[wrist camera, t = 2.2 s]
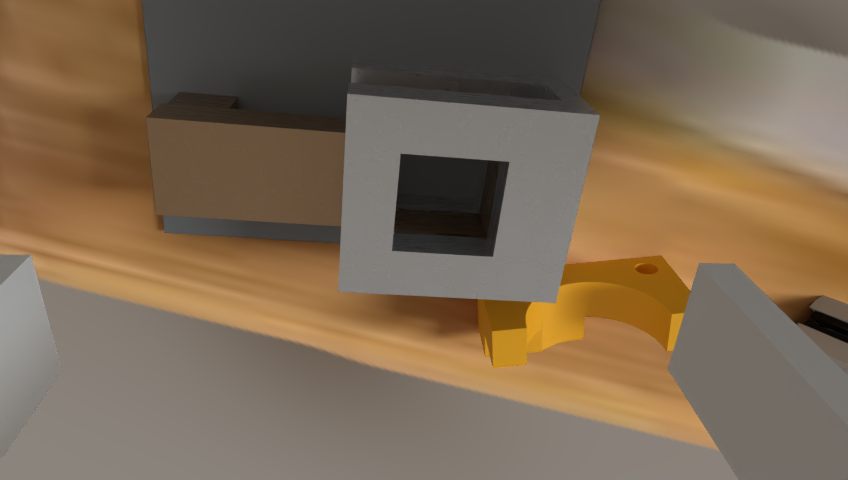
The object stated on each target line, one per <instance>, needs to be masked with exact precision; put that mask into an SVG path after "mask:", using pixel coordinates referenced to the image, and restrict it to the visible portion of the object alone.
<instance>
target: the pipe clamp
mask: <svg viewBox="0 0 848 480" xmlns="http://www.w3.org/2000/svg"><path fill="white" fill-rule="evenodd" d="M690 292H691V291H690V290H689V289H688V288H687V286H686V285H685V284H684V283H683V282H682V280H681V279H680V278H679V277H678V275H677V274H676V273H675V272H674V270H673V269H672V268H671V267H670V266H669V264H668V263H667V262H666V261H665V259H664V258H663V257H662V256H652V257H641V258H630V259H620V260H609V261H598V262H587V263H577V264H566V265H565V266H564V270H563V274H562V279H561V283H560V287H559V291H558V296H557V300H556V303H544V302H525V301H506V300H487V299H477V300H478V328H479V332H480V336H481V341H482V345H483V349H484V353H485V357H489V356H490V358H491V362H492V366H493V368H499V367H509V366H520V365H527V353H530V352H541V351H543V350H544V349H546V348H548V347H550V346H552V345H555V344H558V343H561V342H565V341H571V340H580V339H583V335H584V319H585V317H600V318H607V319H613V320H617V321H621V322H624V323H627V324H630V325H632V326H635V327H637V328H639V329H641V330H643V331H645V332H646V333H648V334H650V335H651V336H652V337H654V338H655V339H656V340H657V341H658V342H660V344H661V345H662V346H663V347H664V348H665V349H666V351H673V350H674V347H675V343H676V340H677V336H678V333H679V330H680V326H681V323H682V319H683V316H684V313H685V309H686V306H687V302H688V299H689V296H690Z"/></svg>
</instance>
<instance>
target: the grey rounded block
mask: <svg viewBox="0 0 848 480" xmlns="http://www.w3.org/2000/svg"><path fill="white" fill-rule="evenodd" d="M809 307H810V308H811V309H812V310H813V311H814V313H813V314H812V316H813V317H814V318H815V319H817V320H818V321H819V322H820V323H821V324H822V325H824V326H825V328H824V327H821V326H819V325H817V324H814V323H812V322H809V321H807V323H806V324H805V325H803V324H800V323H798V324H797V326H798V327H799V328H800V329H801V330H802V331H803V332H804V333H805V334H806V335H807V336H808V337H809V338H810V339H811V340H812V341H813V342H814V343H815V344H816V345H817V346H818V347H819V348H820V349H821V350H822V351H823V352H825V353H826V354H827V355H828V356H829V357H830V358H831V359H832V360H833V361H834V362H835V363H836V364H837V365H838V366H839V367H840V368H841V369H842V370H843V371H844V372H845V373H846V374H847V375H848V304H845V303H843V302H840V301H837V300H835V299H832V298H829V297H827V296H824V295H823V296H821V297H820V298H818V299H816V300H815V301H814V302H813V303H812V304H811V305H810V306H809Z"/></svg>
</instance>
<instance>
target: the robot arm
mask: <svg viewBox="0 0 848 480" xmlns="http://www.w3.org/2000/svg"><path fill="white" fill-rule="evenodd" d="M668 370H669V371H670V373H671V375H672V376H673V378H674V379H675V381H676V382H677V384H678V386H679V387H680V389H681V390H682V392H683V393H684V395H685V397H686V398H687V400H688V401H689V403H690V404H691V406H692V408H693V409H694V411H695V412H696V414H697V415H698V417H699V418H700V420H701V422H702V423H703V425H704V426H705V428H706V429H707V431H708V433H709V434H710V436H711V437H712V439H713V440H714V442H715V444H716V445H717V447H718V448H719V450H720V451H721V453H722V454H723V456H724V458H725V459H726V461H727V462H728V464H729V466H730V467H731V469H732V470H733V472H734V473H735V475H736V476H737V478H738V479H739V480H848V375H847V374H846V373H845V372H844V371H843V370H842V369H841V368H840V367H839V366H838V365H837V364H836V363H835V362H834V361H833V360H832V359H831V358H830V357H829V356H828V355H827V354H826V353H825V352H823V351H822V350H821V349H820V348H819V347H818V346H817V345H816V344H815V343H814V342H813V341H812V340H811V339H810V338H809V337H808V336H807V335H806V334H805V333H804V332H803V331H802V330H801V329H800V328H799V327H798V326H797V325H796V324H795V323H794V322H793V321H792V320H791V319H790V318H789V317H788V316H787V315H786V314H785V313H784V312H783V311H782V310H781V309H780V308H779V307H778V306H777V305H776V304H775V303H774V302H773V301H772V300H771V299H770V298H769V297H768V296H767V295H766V294H765V293H764V292H763V291H762V290H761V289H760V288H759V287H758V286H756V285H755V284H754V283H753V282H752V281H751V280H750V279H749V278H748V277H747V276H746V275H745V274H744V273H743V272H742V271H741V270H740V269H739V268H738V267H737V266H736V265H735V264H716V263H699V265H698V268H697V272H696V275H695V279H694V282H693V285H692V289H691V292H690V296H689V299H688V302H687V306H686V309H685V313H684V316H683V319H682V323H681V326H680V330H679V333H678V336H677V340H676V343H675V347H674V350H673V353H672V357H671V360H670V364H669V367H668ZM61 371H62V369H61V365H60V361H59V358H58V354H57V350H56V347H55V343H54V339H53V336H52V332H51V328H50V324H49V320H48V317H47V313H46V310H45V306H44V302H43V298H42V295H41V291H40V287H39V283H38V280H37V276H36V272H35V268H34V265H33V261H32V257H31V255H1V254H0V461H1V460H2V458H3V457H4V455H5V454H6V452H7V451H8V449H9V448H10V446H11V445H12V443H13V442H14V441H15V439H16V438H17V436H18V435H19V433H20V432H21V430H22V429H23V427H24V426H25V424H26V423H27V421H28V420H29V418H30V417H31V415H32V414H33V412H34V411H35V410H36V408H37V407H38V405H39V404H40V402H41V400H42V399H43V397H44V396H45V395H46V393H47V392H48V390H49V389H50V387H51V386H52V384H53V383H54V382H55V380H56V378H57V377H58V375H59V374H60V373H61Z"/></svg>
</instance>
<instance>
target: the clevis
mask: <svg viewBox="0 0 848 480" xmlns="http://www.w3.org/2000/svg"><path fill="white" fill-rule="evenodd" d="M599 118H600V115H599V114H598V113H597V112H596V111H595V110H594V109H593V108H592V107H591V106H590V105H589V104H588V103H587V102H586V101H584V100H583V99H582V98H581V97H580V96H579V95H578V94H577V93H576V92H575V91H574V90H573V89H572V88H571V87H569V86H568V85H567V84H566V83H565V82H564V81H563V80H562V79H561V78H557V77H546V76H535V75H524V74H512V73H501V72H490V71H479V70H468V69H457V68H446V67H435V66H424V65H413V64H402V63H391V62H379V61H368V60H357V59H353V64H352V74H351V82H349V87H348V93H347V111H346V118H339V117H327V116H315V115H302V114H290V113H277V112H265V111H253V110H240V109H238V96H226V95H214V94H202V93H190V92H179V93H178V94H177V95H176V96H175V97H174V98H173V99H171V100H170V101H169V102H168V103H167V104H166V103H161V104H160V105H159V106H158V107H157V108H156V109H155V110H154V111H152V112H151V113H150V114H149V115H148V116H147V117H146V123H147V133H148V142H149V152H150V161H151V171H152V181H153V190H154V200H155V210H156V215H167V216H183V217H198V218H214V219H230V220H246V221H262V222H278V223H294V224H310V225H326V226H341V241H340V262H339V284H338V292H352V293H372V294H391V295H410V296H429V297H448V298H467V299H487V300H506V301H525V302H544V303H556V300H557V296H558V291H559V287H560V283H561V279H562V274H563V270H564V266H565V262H566V258H567V253H568V249H569V245H570V241H571V236H572V232H573V228H574V224H575V219H576V215H577V211H578V207H579V203H580V198H581V194H582V190H583V186H584V181H585V177H586V173H587V169H588V164H589V160H590V156H591V152H592V148H593V143H594V139H595V135H596V131H597V126H598V122H599ZM401 154H413V155H426V156H439V157H452V158H466V159H479V160H480V164H479V170H478V177H477V183H476V190H475V197H474V199H465V198H451V197H436V196H421V195H407V194H397V189H398V178H399V167H400V156H401Z"/></svg>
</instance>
